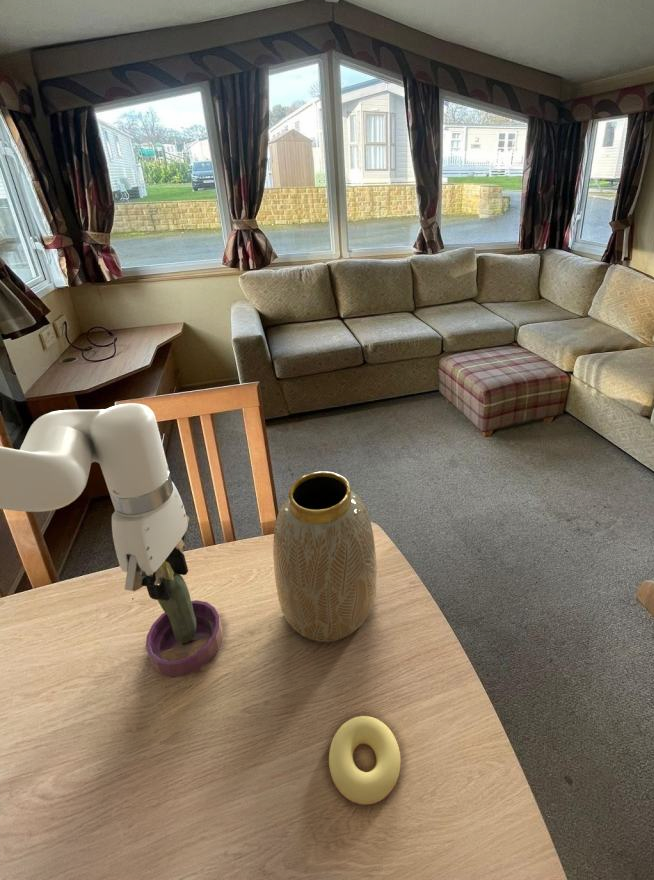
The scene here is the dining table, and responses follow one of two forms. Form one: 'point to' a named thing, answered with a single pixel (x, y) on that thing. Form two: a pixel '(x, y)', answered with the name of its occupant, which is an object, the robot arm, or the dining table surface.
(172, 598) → the vegetable
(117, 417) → the robot arm
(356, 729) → the donut
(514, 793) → the dining table surface
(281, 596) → the vase
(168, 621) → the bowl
